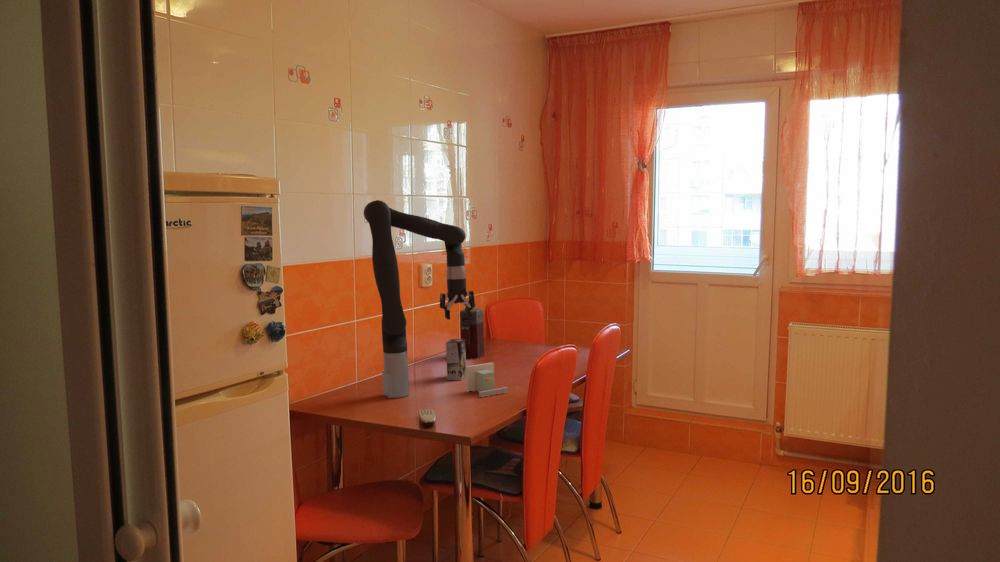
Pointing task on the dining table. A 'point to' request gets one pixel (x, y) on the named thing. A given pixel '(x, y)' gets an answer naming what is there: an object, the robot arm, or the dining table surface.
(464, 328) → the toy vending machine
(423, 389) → the dining table surface
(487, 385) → the cabinet block
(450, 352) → the coffee box
